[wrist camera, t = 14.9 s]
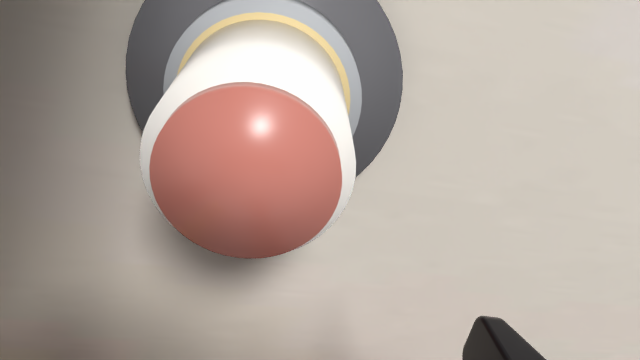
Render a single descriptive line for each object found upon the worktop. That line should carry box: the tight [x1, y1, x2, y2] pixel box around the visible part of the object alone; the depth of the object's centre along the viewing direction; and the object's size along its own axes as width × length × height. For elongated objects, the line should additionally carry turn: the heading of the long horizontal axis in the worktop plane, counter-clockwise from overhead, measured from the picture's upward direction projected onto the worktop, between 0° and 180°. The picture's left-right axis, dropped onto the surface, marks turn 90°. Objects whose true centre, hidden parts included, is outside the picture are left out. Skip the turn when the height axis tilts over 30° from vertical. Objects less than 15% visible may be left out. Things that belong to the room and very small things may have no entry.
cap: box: [140, 20, 356, 258], centre depth 16 cm, size 6×6×6 cm
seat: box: [126, 0, 403, 177], centre depth 19 cm, size 10×10×2 cm
